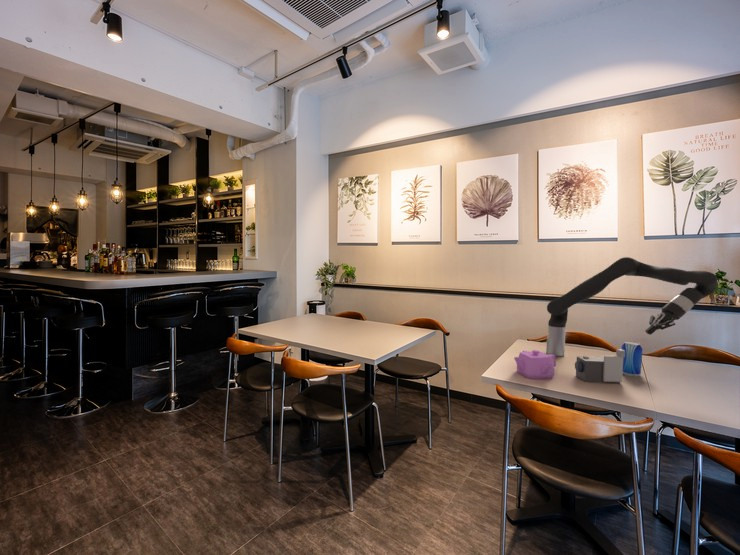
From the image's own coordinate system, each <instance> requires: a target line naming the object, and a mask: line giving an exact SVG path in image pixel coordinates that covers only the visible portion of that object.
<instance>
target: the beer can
mask: <svg viewBox="0 0 740 555" xmlns="http://www.w3.org/2000/svg"><path fill="white" fill-rule="evenodd" d="M620 349H622V350H624V351H625V357H623V373H622V375H625V376H629V377H636V378H637V377H640V375H641V374H642V363H643V362H642V361H643V347H642V346H641V343H639V342H636V341H624V342H623V344H622V345H621V348H620Z"/></svg>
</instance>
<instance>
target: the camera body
mask: <svg viewBox="0 0 740 555" xmlns="http://www.w3.org/2000/svg"><path fill="white" fill-rule="evenodd" d="M603 368H604V356H587V355H580V356H579V355H577V356H576V361H575V363H574V369H575V377H576V378H578V379H580V380H581V381H583V382H584V383H608V384H620V383H621V382H607V381H603Z"/></svg>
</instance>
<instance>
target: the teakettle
mask: <svg viewBox="0 0 740 555" xmlns="http://www.w3.org/2000/svg"><path fill="white" fill-rule="evenodd" d="M513 359H514V361H515V363H516V371H517V373H518V374H520V375H521V376H524V377H525V378H526V379H529V380H543V379H553V378H554V375H555V367H556V356H555V355H550V354H546V352H545V353H544V352H542V351H540V350H537V349H533V350H532V351H529V350H522V351H521V352H519V355H518V356H514V357H513Z"/></svg>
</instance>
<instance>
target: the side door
mask: <svg viewBox="0 0 740 555" xmlns="http://www.w3.org/2000/svg"><path fill="white" fill-rule="evenodd" d="M615 352H616V353H615V354H616V355H603V357H604V368H603V381H607V382H620V383H622V382H623V357H625V351H624V350H622V349H621V348H616V350H615Z"/></svg>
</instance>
